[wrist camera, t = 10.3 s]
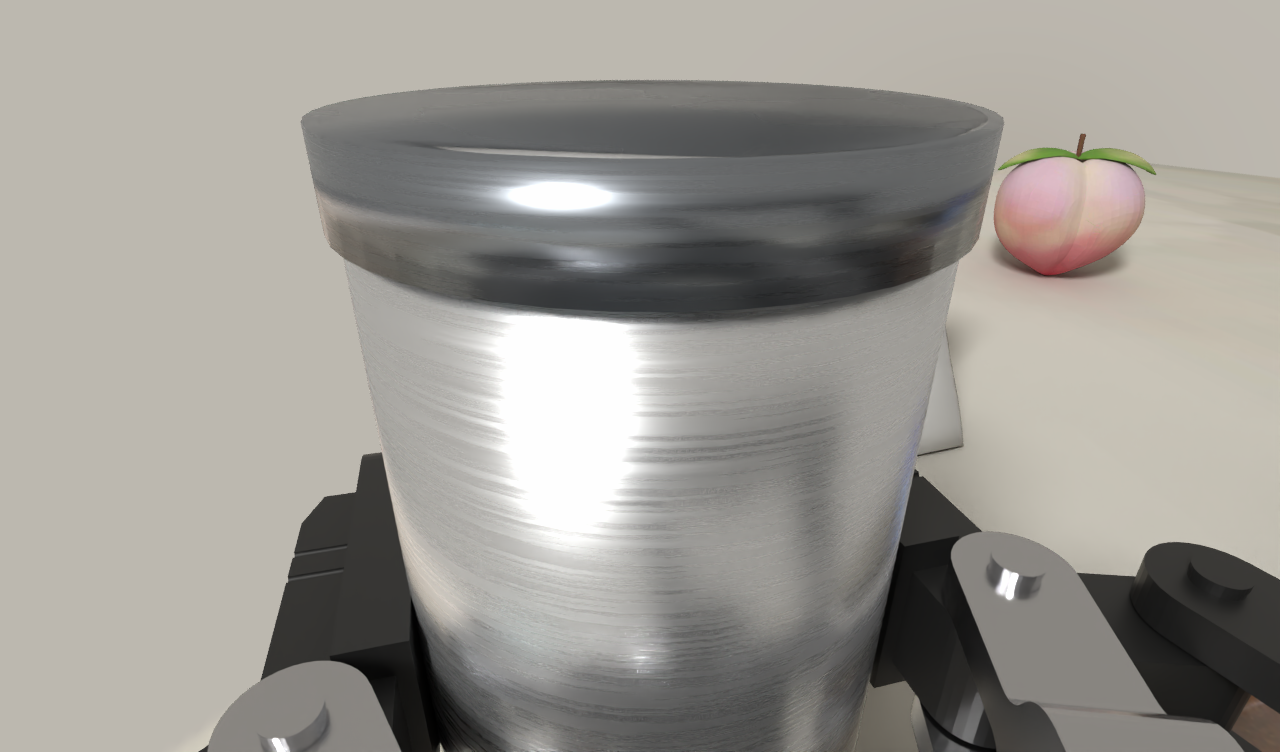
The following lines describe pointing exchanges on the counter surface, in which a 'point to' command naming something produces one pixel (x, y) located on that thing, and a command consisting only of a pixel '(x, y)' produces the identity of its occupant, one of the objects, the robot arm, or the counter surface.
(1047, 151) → the decorative fruit
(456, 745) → the canister
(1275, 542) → the counter surface
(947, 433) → the flask
